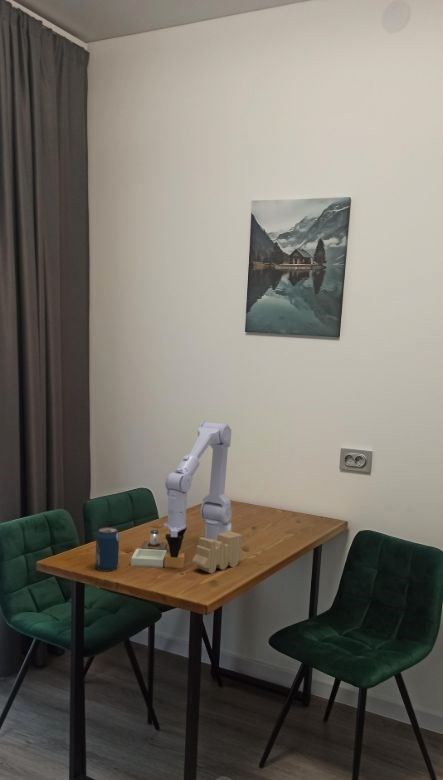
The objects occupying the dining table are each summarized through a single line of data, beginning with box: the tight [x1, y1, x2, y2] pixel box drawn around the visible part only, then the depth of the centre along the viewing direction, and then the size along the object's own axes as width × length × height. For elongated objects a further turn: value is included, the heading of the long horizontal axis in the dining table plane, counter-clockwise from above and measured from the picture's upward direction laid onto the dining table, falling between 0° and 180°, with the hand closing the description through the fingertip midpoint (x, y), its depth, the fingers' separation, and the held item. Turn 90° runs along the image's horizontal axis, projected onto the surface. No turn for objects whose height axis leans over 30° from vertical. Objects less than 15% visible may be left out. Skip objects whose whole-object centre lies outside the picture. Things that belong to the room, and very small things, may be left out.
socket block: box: [139, 540, 168, 551], centre depth 216 cm, size 8×8×2 cm
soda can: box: [94, 526, 120, 572], centre depth 198 cm, size 7×7×12 cm
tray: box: [130, 548, 168, 569], centre depth 206 cm, size 10×10×2 cm
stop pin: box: [149, 529, 159, 547], centre depth 215 cm, size 3×3×7 cm
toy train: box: [191, 530, 245, 575], centre depth 203 cm, size 6×17×10 cm, turn 135°
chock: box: [163, 552, 186, 569], centre depth 203 cm, size 6×4×4 cm, turn 88°
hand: (175, 553), depth 203 cm, fingers open, 7 cm apart
